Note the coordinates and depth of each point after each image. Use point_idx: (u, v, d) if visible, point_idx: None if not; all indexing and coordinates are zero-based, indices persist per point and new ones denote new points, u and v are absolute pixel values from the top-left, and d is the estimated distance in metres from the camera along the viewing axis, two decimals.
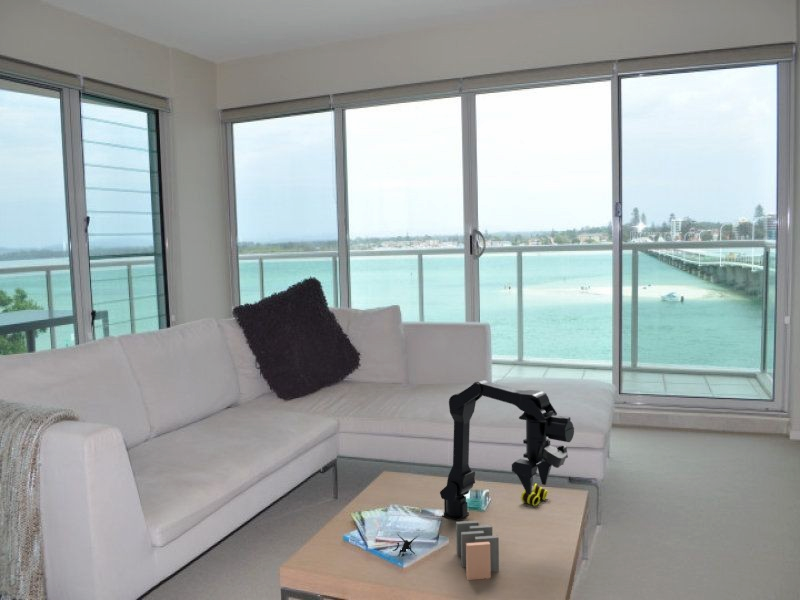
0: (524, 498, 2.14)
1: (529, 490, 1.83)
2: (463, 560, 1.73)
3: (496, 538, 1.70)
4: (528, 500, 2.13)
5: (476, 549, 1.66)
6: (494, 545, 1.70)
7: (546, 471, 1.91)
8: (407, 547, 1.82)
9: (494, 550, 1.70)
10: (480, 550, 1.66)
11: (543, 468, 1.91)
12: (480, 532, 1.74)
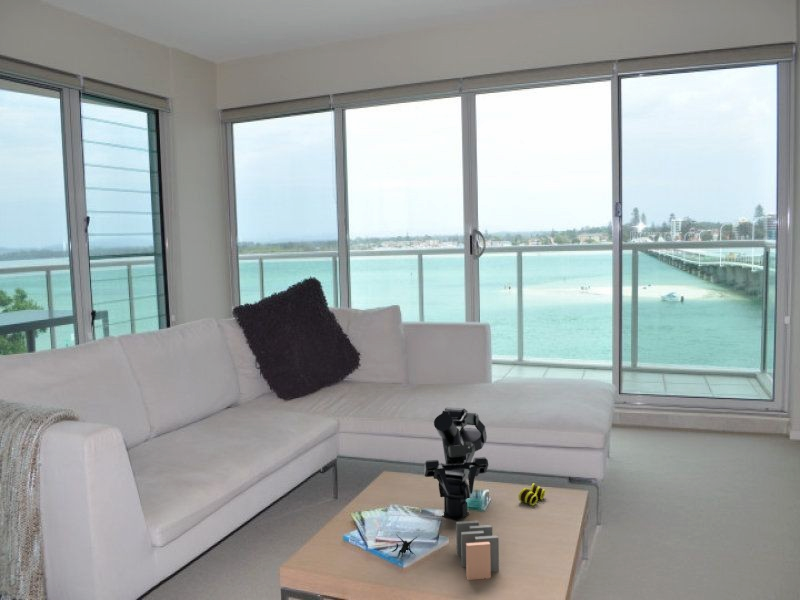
0: (522, 497, 2.15)
1: (446, 489, 1.90)
2: (463, 560, 1.73)
3: (496, 538, 1.70)
4: (526, 499, 2.14)
5: (476, 549, 1.66)
6: (494, 545, 1.70)
7: (470, 479, 1.92)
8: (406, 548, 1.82)
9: (494, 550, 1.70)
10: (480, 550, 1.66)
11: (469, 478, 1.93)
12: (480, 532, 1.74)
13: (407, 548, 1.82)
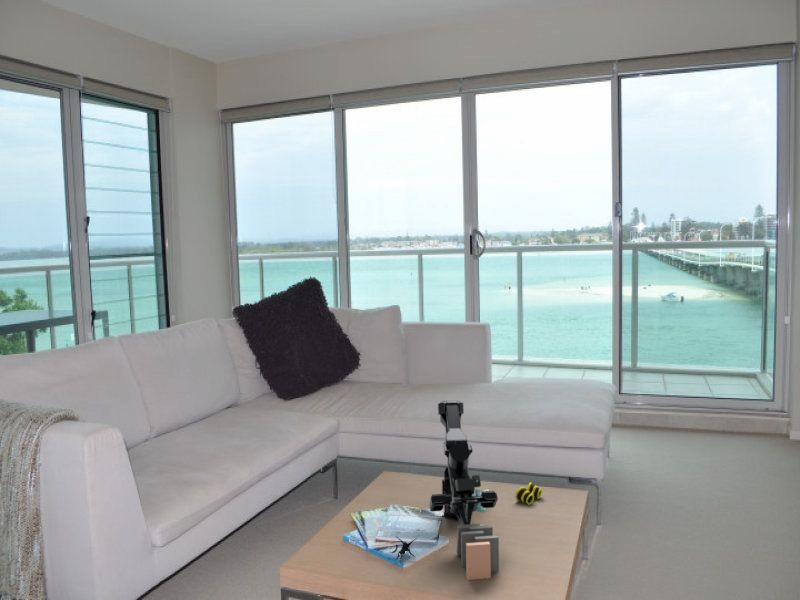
0: (518, 496, 2.16)
1: None
2: (463, 560, 1.73)
3: (496, 538, 1.70)
4: (522, 498, 2.14)
5: (476, 549, 1.66)
6: (494, 545, 1.70)
7: (467, 515, 1.82)
8: (406, 549, 1.81)
9: (494, 550, 1.70)
10: (480, 550, 1.67)
11: (466, 514, 1.83)
12: (480, 532, 1.74)
13: (407, 549, 1.81)
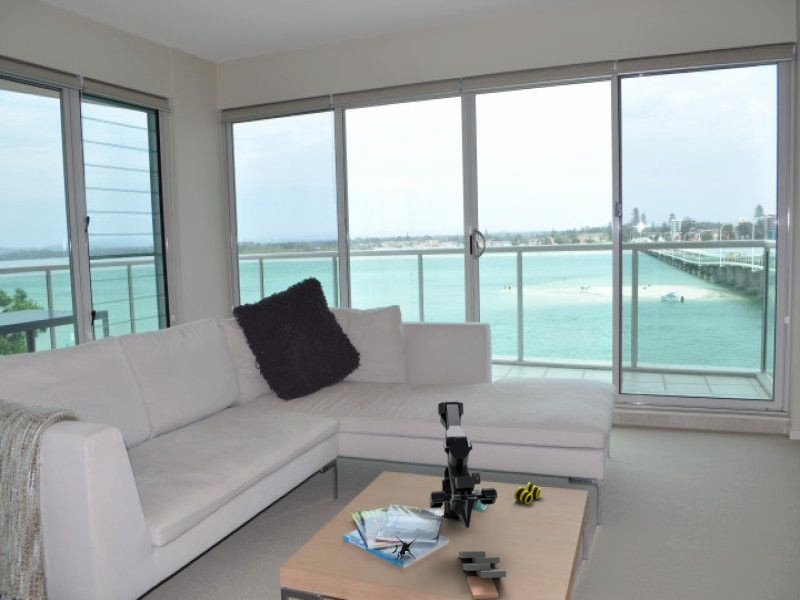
0: (517, 496, 2.16)
1: (464, 522, 1.80)
2: (464, 569, 1.70)
3: (503, 576, 1.61)
4: (521, 498, 2.15)
5: None
6: None
7: (467, 512, 1.82)
8: (406, 549, 1.81)
9: None
10: None
11: (466, 511, 1.83)
12: (486, 567, 1.64)
13: (407, 550, 1.81)
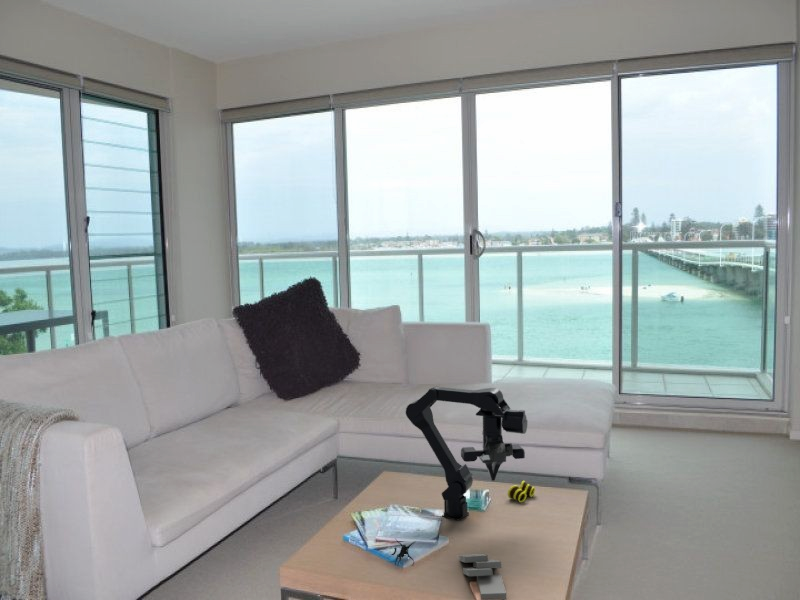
0: (511, 494, 2.17)
1: (490, 476, 2.00)
2: (465, 574, 1.68)
3: None
4: (514, 496, 2.16)
5: None
6: None
7: (494, 468, 1.99)
8: (405, 552, 1.79)
9: None
10: None
11: (493, 464, 2.00)
12: (488, 573, 1.62)
13: (405, 552, 1.79)
